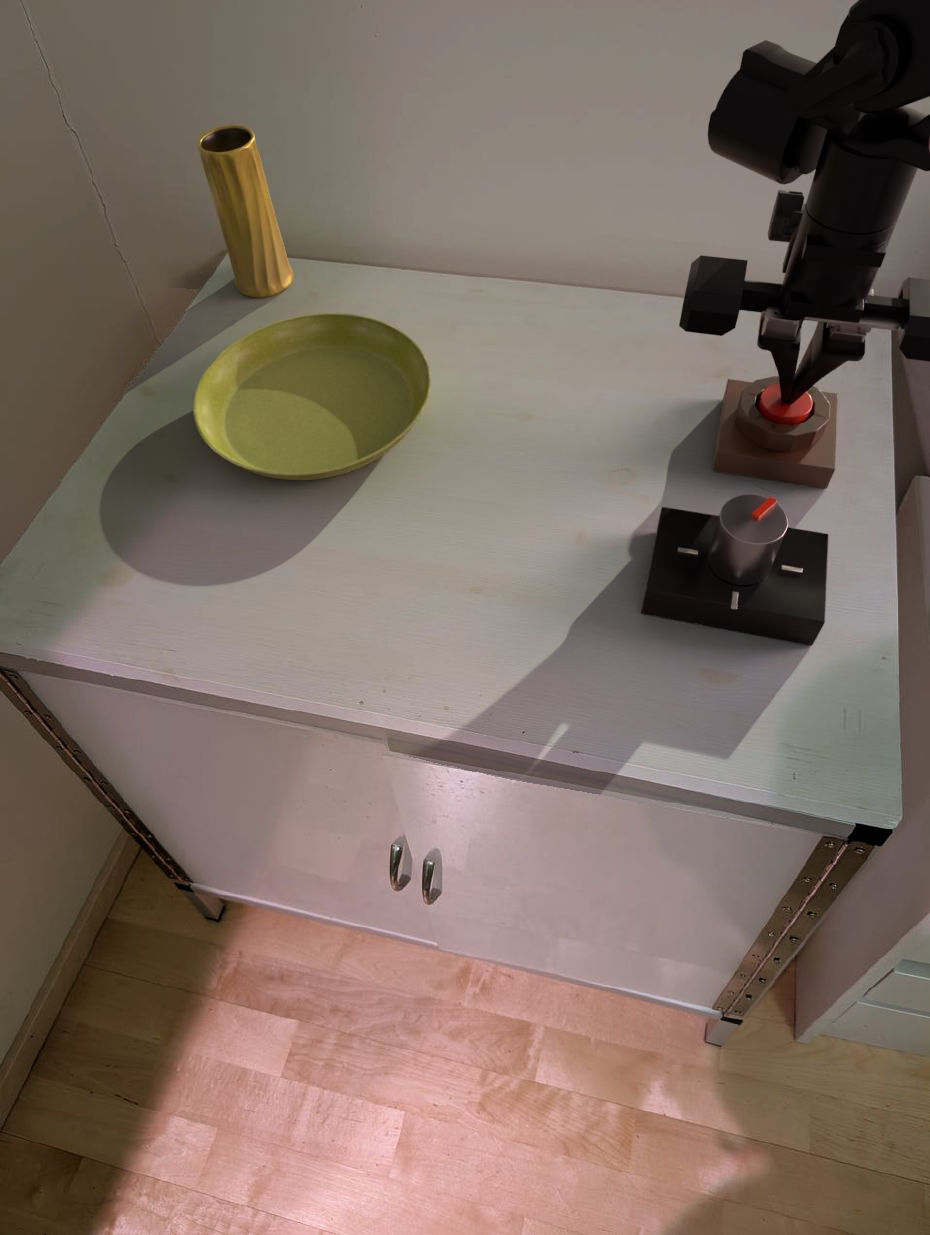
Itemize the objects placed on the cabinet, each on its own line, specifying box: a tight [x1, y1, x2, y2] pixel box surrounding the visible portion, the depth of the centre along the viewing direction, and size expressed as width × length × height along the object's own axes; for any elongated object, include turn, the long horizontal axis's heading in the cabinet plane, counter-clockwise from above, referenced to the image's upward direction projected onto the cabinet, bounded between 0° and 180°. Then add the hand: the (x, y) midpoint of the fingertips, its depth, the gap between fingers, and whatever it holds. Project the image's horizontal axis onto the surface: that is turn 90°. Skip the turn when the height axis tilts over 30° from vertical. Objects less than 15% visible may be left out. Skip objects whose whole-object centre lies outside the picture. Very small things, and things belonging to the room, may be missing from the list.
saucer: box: [192, 312, 432, 481], centre depth 73 cm, size 21×21×3 cm
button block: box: [711, 375, 839, 490], centre depth 68 cm, size 9×9×4 cm
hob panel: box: [640, 506, 829, 647], centre depth 61 cm, size 12×9×3 cm
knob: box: [708, 494, 789, 585], centre depth 57 cm, size 4×4×5 cm
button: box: [757, 384, 813, 425], centre depth 67 cm, size 4×4×2 cm
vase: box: [196, 124, 295, 298], centre depth 81 cm, size 6×6×14 cm
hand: (787, 400), depth 66 cm, fingers closed, pressing on button
